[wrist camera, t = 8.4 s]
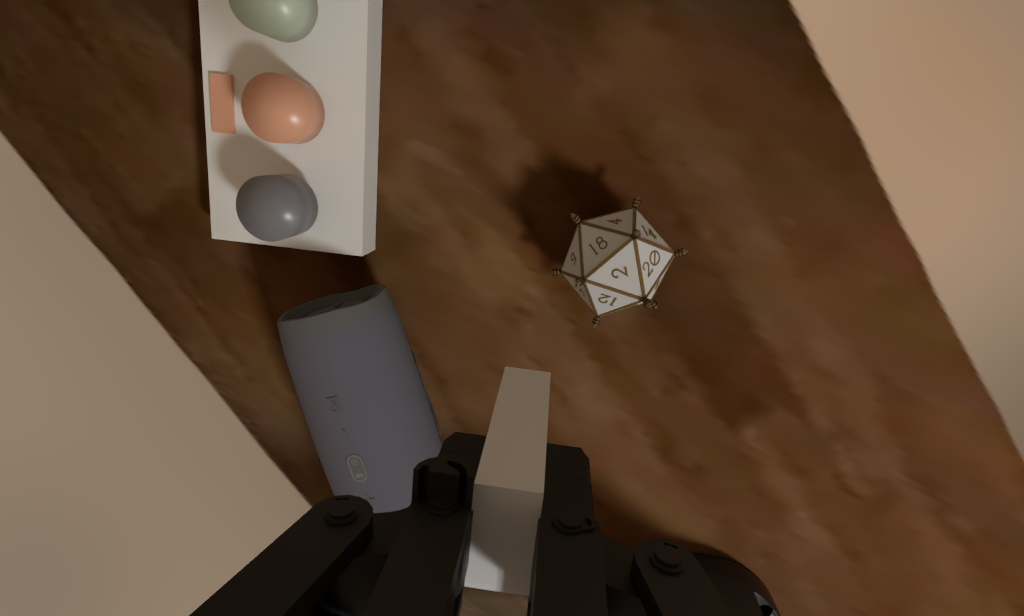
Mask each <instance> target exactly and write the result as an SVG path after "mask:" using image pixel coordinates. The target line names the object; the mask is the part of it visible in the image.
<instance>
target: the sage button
mask: <svg viewBox="0 0 1024 616" xmlns="http://www.w3.org/2000/svg"><path fill="white" fill-rule="evenodd" d="M228 2H229V5H230V7H231V10H232V12H233V13H234V15H235V16H236V18H237V19H238V20H239V21H240V22H241V23H242V24H243V25H244V26H246V27H247V28H249V29H251V30H253V31H255V32H258V33H260V34H263V35H265V36H268V37H270V38H273V39H276V40H278V41H281V42H287V43H291V42H296V41H299V40H301V39H303V38H305V37H306V36H307V35H308V34H309V33H310V32H311V31H312V29H313V27H314V25H315V23H316V20H317V15H318V3H317V0H228Z"/></svg>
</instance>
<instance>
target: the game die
mask: <svg viewBox="0 0 1024 616" xmlns="http://www.w3.org/2000/svg"><path fill="white" fill-rule="evenodd" d="M633 200H634V201H633V202H632V203H633V206H632V207H631V208H627V209H623V210H619V211H616V212H612V213H608V214H604V215H601V216H597V217H593V218H589V219H586V220H582V221H581V220H580V217H579V216H578V214H573V213H571V217H572V220H573V221H574V223H577V227H576V230H575V232H574V235H573V238H572V240H571V243H570V246H569V248H568V251H567V254H566V256H565V259H564V262H563V264H562V267H561V269H557V268H556V269H553V270H552V271H551V272H550V273H549V274H552V275H554V276H556V275H559V274H562V275H563V276H564V278H565V279H566V280H567V281H568V283H569V284H570V285H571V286H572V287H573V289H574V290H575V291H576V292H577V294H578V295H579V296H580V297H581V299H582V300H583V301H584V302H585V303H586V305H587V306H588V307H589V308H590V310H591V311H592V312H593V313H594V315H595V318H594V319H593V322H592V324H593V328H594V327H596V326H597V325H599V322H600V321H599V318H600V317H602V316H605V315H608V314H612V313H615V312H618V311H621V310H625V309H628V308H631V307H634V306H638V305H641V304H643V305H645V306H644V307H646V308H651V309H652V308H657V302H655V300H653V299H652V298H653V296H654V295H655V293H656V291H657V289H658V287H659V285H660V283H661V281H662V279H663V278H664V276H665V274H666V272H667V270H668V268H669V266H670V264H671V262H672V260H673V259H674V257H675V256H679V257H680V256H683V255H684V254H686V253H687V252H688V251H687V250H684V249H682V248H681V249H678V250H676V251H674V250H673V249H672V248H671V247H670V246H669V245H668V243H667V242H666V241H665V240H664V239H663V238H662V237H661V235H660V234H659V233H658V232H657V231H656V230H655V229H654V227H653V226H652V225H651V224H650V223H649V222H648V221H647V219H646V218H645V217H644V216H643V215H642V214H641V213H640V212H639V210H638V209H637V207H638V205H639V203H640V202H641V201H640V198H639V196H637V197H636V198H635V199H633Z"/></svg>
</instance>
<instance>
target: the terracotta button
mask: <svg viewBox="0 0 1024 616" xmlns="http://www.w3.org/2000/svg"><path fill="white" fill-rule="evenodd" d="M241 108H242V114H243V117H244V119H245V122H246V124H247V125H248V127H249V128H250V129H251V131H252V132H253V133H254V134H255V135H257V136H258V137H259V138H261V139H263V140H265V141H268V142H271V143H289V144H302V143H306V142H309V141H311V140H312V139H314V138H315V137H316V136H317V135H318V134H319V132H320V131H321V129H322V127H323V124H324V119H325V110H324V105H323V102H322V99H321V97H320V95H319V94H318V92H317V91H316V90H315V89H314V88H313V87H312V86H311V85H310V84H308V83H307V82H305V81H303V80H300V79H297V78H293V77H289V76H286V75H282V74H278V73H274V72H266V73H261V74H259V75H256V76H255V77H253V78H252V79H251V80H250V81H249V82H248V83H247V85H246V86H245V88H244V91H243V94H242V99H241Z"/></svg>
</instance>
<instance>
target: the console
mask: <svg viewBox="0 0 1024 616" xmlns="http://www.w3.org/2000/svg"><path fill="white" fill-rule="evenodd" d="M198 3H199V21H200V39H201V56H202V74H203V91H204V109H205V126H206V144H207V161H208V179H209V196H210V214H211V232H212V238H213V239H221V240H229V241H238V242H246V243H254V244H263V245H271V246H279V247H288V248H296V249H304V250H312V251H321V252H329V253H337V254H346V255H354V256H364V255H366V254H368V253H370V252H372V251H374V250H375V237H376V203H377V170H378V136H379V103H380V70H381V36H382V3H383V0H317V3H318V15H317V20H316V23H315V25H314V27H313V29H312V31H311V32H310V33H309V34H308V35H307V36H306V37H305V38H303V39H301V40H299V41H296V42H291V43H287V42H281V41H278V40H276V39H273V38H270V37H268V36H265V35H263V34H260V33H258V32H255V31H253V30H251V29H249V28H247V27H246V26H244V25H243V24H242V23H241V22H240V21H239V20H238V19H237V18H236V16H235V15H234V13H233V12H232V10H231V7H230V5H229V2H228V0H198ZM266 72H274V73H278V74H282V75H286V76H289V77H293V78H297V79H300V80H303V81H305V82H307V83H308V84H310V85H311V86H312V87H313V88H314V89H315V90H316V91H317V92H318V94H319V95H320V97H321V99H322V102H323V105H324V110H325V119H324V124H323V127H322V129H321V131H320V132H319V134H318V135H317V136H316V137H315V138H314V139H312V140H311V141H309V142H306V143H302V144H289V143H271V142H268V141H265V140H263V139H261V138H259V137H258V136H257V135H255V134H254V133H253V132H252V131H251V129H250V128H249V127H248V125H247V124H246V122H245V119H244V117H243V114H242V108H241V99H242V94H243V91H244V88H245V86H246V85H247V83H248V82H249V81H250V80H251V79H252V78H253V77H255V76H256V75H259V74H261V73H266ZM276 174H291V175H295V176H297V177H299V178H301V179H303V180H304V181H305V182H306V183H307V184H308V185H309V186H310V187H311V188H312V190H313V191H314V193H315V196H316V198H317V202H318V214H317V218H316V221H315V223H314V224H313V226H312V227H311V228H310V229H309V230H307V231H306V232H304V233H302V234H299V235H296V236H293V237H289V238H286V239H283V240H280V241H274V242H268V241H263V240H260V239H258V238H256V237H254V236H253V235H251V234H250V233H249V232H248V231H247V230H246V229H245V228H244V227H243V225H242V224H241V222H240V220H239V218H238V215H237V211H236V197H237V194H238V191H239V189H240V188H241V186H242V185H243V184H244V183H245V182H246V181H247V180H249V179H250V178H253V177H256V176H263V175H276Z"/></svg>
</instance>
